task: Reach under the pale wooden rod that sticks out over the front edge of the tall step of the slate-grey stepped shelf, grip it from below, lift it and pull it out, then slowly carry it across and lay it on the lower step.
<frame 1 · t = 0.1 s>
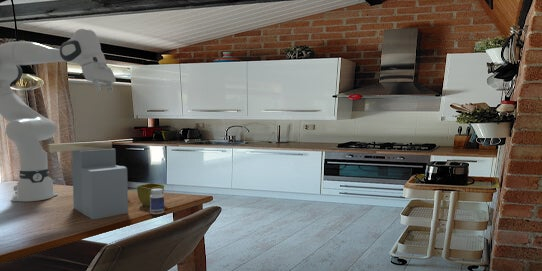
hand: (105, 90, 170), 52 cm above the table, tool tilted 20°, fingers open, 8 cm apart
flower pot: (150, 205, 165), on the table
wooden rod: (81, 149, 155), point 26 cm above the table, touching stepped shelf
stepped shelf: (100, 210, 156), on the table
pill bottle: (157, 213, 153), on the table
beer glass: (119, 197, 181), on the table
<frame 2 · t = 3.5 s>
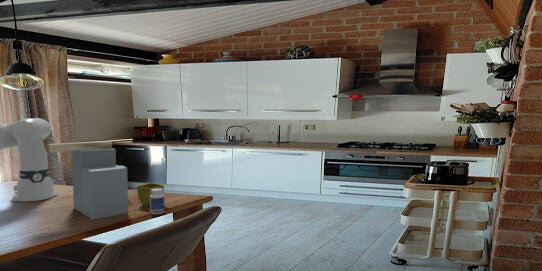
nothing on the table moved.
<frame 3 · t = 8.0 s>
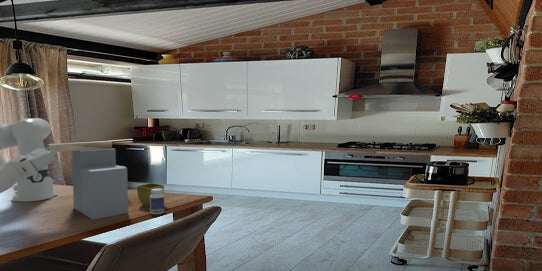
hand: (58, 146, 149), 28 cm above the table, tool pointing upward, fingers closed on wooden rod, 4 cm apart
wooden rod: (81, 149, 155), point 26 cm above the table, touching gripper, stepped shelf
everything else where it was.
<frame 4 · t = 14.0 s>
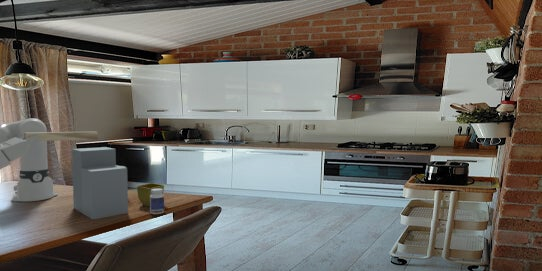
hand: (36, 135, 133), 33 cm above the table, tool pointing upward, fingers closed on wooden rod, 4 cm apart
wooden rod: (62, 140, 139), point 31 cm above the table, touching gripper
everything else where it was.
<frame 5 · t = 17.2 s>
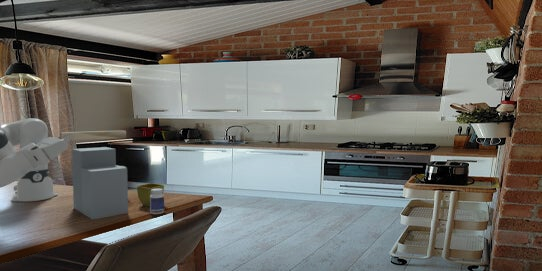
hand: (70, 135, 141), 33 cm above the table, tool pointing upward, fingers closed on wooden rod, 4 cm apart
wooden rod: (94, 138, 147), point 31 cm above the table, touching gripper
everything else where it was.
when the fingers open (22 cm above the table, at t = 20.1 s): wooden rod stays where it is, resting on stepped shelf.
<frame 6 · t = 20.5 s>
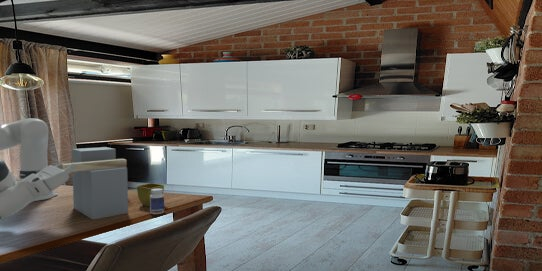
hand: (71, 163, 142), 22 cm above the table, tool pointing upward, fingers open, 8 cm apart
wooden rod: (95, 168, 148), point 19 cm above the table, touching stepped shelf
everything else where it was.
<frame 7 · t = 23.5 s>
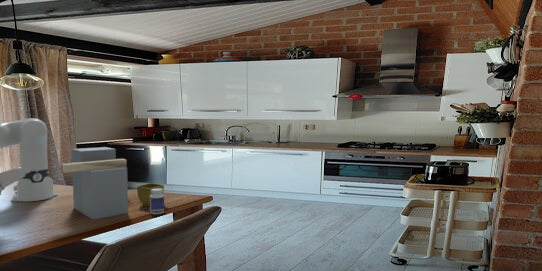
hand: (32, 168, 134), 21 cm above the table, tool pointing upward, fingers open, 8 cm apart
nothing on the table moved.
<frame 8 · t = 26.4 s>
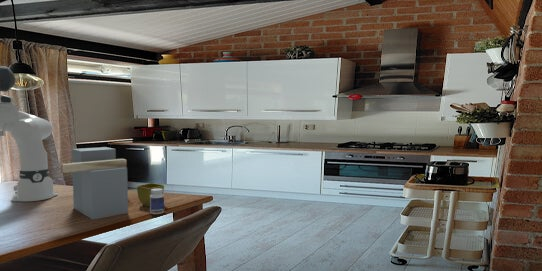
nothing on the table moved.
at the end: wooden rod inside the target area (0.7 cm from its centre), point 19.0 cm above the table; wooden rod tilted 0°; the gripper is holding nothing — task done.
